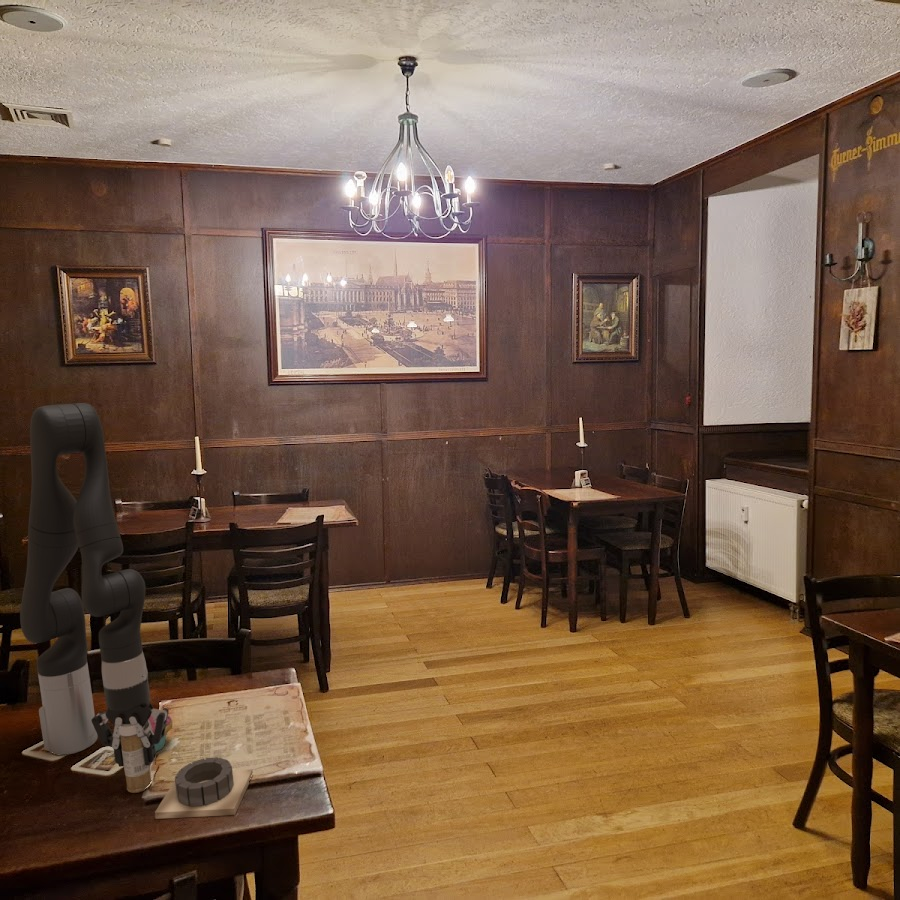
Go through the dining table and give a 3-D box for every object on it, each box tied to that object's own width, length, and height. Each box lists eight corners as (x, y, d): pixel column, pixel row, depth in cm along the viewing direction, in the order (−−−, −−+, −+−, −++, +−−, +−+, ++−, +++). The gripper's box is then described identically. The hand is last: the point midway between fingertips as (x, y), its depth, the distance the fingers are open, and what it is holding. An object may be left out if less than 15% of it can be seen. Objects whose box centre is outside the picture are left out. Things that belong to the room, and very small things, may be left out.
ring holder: (155, 818, 132) (152, 794, 131) (180, 778, 144) (177, 756, 143) (234, 814, 132) (232, 790, 131) (252, 775, 144) (250, 752, 143)
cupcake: (121, 755, 154) (113, 700, 152) (150, 734, 161) (144, 681, 160) (155, 761, 151) (148, 705, 149) (183, 739, 158) (177, 685, 157)
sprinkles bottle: (151, 777, 145) (142, 712, 143) (153, 789, 141) (144, 722, 139) (125, 784, 143) (116, 718, 141) (127, 797, 139) (117, 729, 137)
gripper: (76, 689, 135) (89, 777, 138) (155, 685, 135) (166, 773, 138) (96, 671, 143) (107, 754, 145) (171, 667, 142) (181, 750, 145)
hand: (136, 763), depth 141 cm, fingers closed on sprinkles bottle, 4 cm apart
